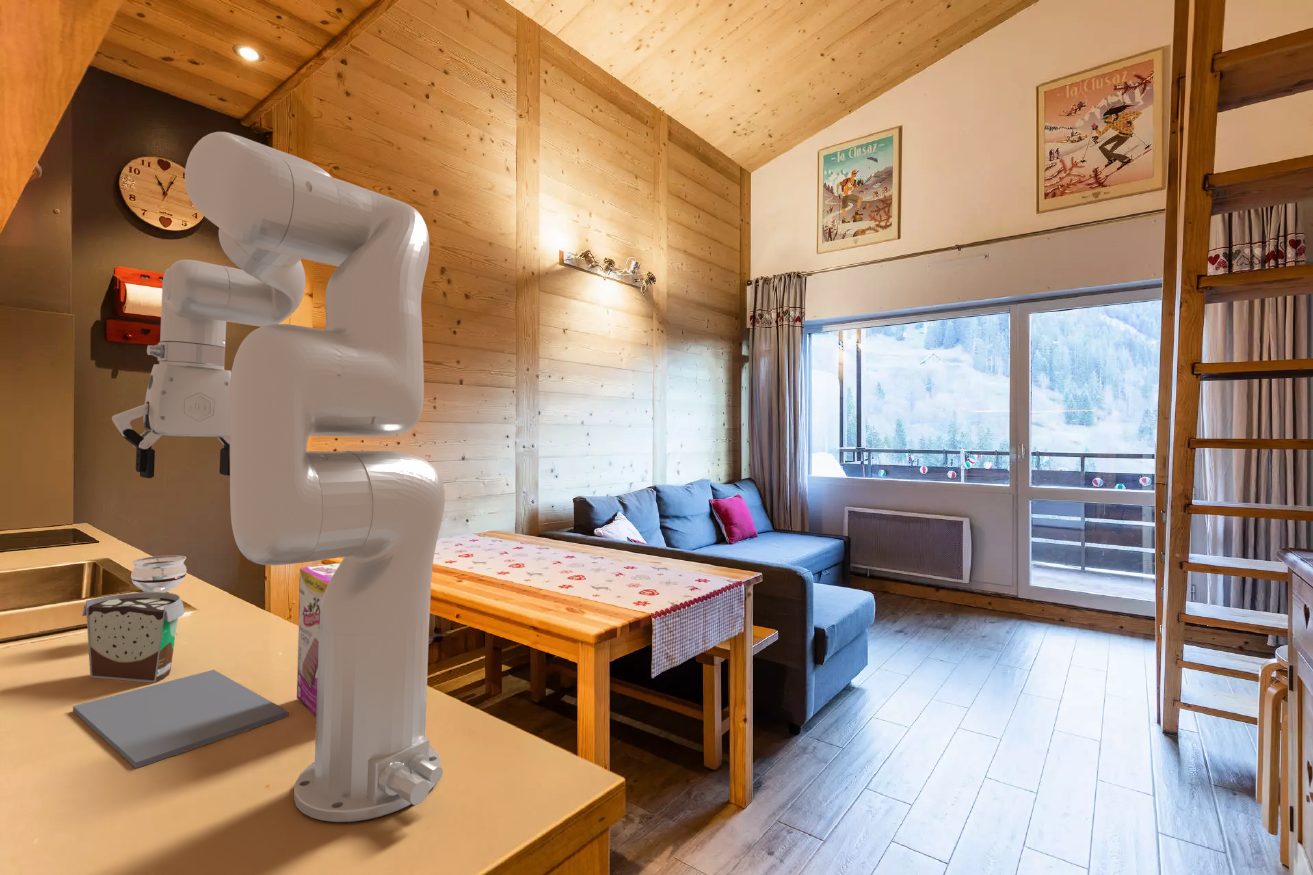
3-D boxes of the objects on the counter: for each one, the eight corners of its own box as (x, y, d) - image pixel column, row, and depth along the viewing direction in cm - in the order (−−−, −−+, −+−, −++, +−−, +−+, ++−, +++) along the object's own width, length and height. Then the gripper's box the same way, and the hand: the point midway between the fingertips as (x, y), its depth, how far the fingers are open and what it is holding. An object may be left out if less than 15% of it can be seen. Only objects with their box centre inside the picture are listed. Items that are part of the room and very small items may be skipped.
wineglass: (161, 627, 100) (163, 554, 99) (195, 631, 98) (198, 557, 98) (116, 640, 93) (119, 562, 93) (153, 645, 92) (155, 565, 91)
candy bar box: (293, 700, 75) (297, 567, 75) (336, 688, 79) (340, 561, 79) (325, 732, 68) (331, 584, 67) (372, 718, 71) (377, 577, 71)
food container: (206, 665, 85) (208, 593, 85) (166, 683, 79) (168, 605, 79) (125, 659, 86) (127, 588, 86) (79, 676, 80) (82, 600, 80)
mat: (287, 716, 71) (288, 710, 71) (135, 768, 59) (136, 762, 59) (213, 674, 82) (213, 669, 82) (72, 711, 70) (73, 705, 70)
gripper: (125, 349, 79) (120, 480, 79) (270, 364, 93) (265, 476, 94) (106, 351, 83) (101, 476, 84) (247, 365, 98) (243, 472, 98)
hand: (188, 476), depth 89 cm, fingers open, 9 cm apart
